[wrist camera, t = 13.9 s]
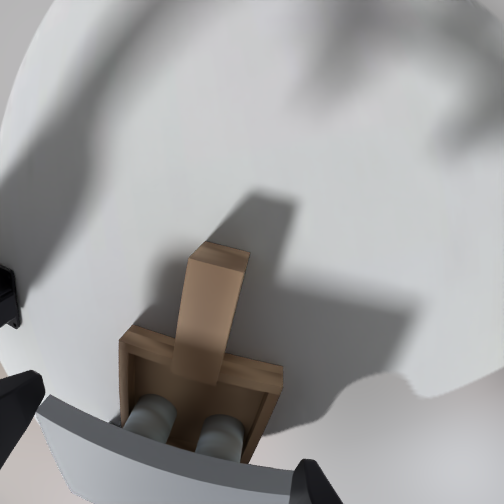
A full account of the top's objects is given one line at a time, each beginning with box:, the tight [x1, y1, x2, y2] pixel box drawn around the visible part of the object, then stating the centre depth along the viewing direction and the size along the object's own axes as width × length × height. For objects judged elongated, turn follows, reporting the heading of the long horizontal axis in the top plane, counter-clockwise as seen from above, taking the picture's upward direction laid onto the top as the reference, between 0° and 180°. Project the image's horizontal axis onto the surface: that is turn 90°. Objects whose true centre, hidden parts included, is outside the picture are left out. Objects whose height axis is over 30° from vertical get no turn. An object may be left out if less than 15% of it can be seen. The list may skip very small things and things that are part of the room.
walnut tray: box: [119, 241, 283, 464], centre depth 20 cm, size 12×20×6 cm, turn 166°
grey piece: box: [36, 394, 294, 504], centre depth 19 cm, size 18×12×10 cm
